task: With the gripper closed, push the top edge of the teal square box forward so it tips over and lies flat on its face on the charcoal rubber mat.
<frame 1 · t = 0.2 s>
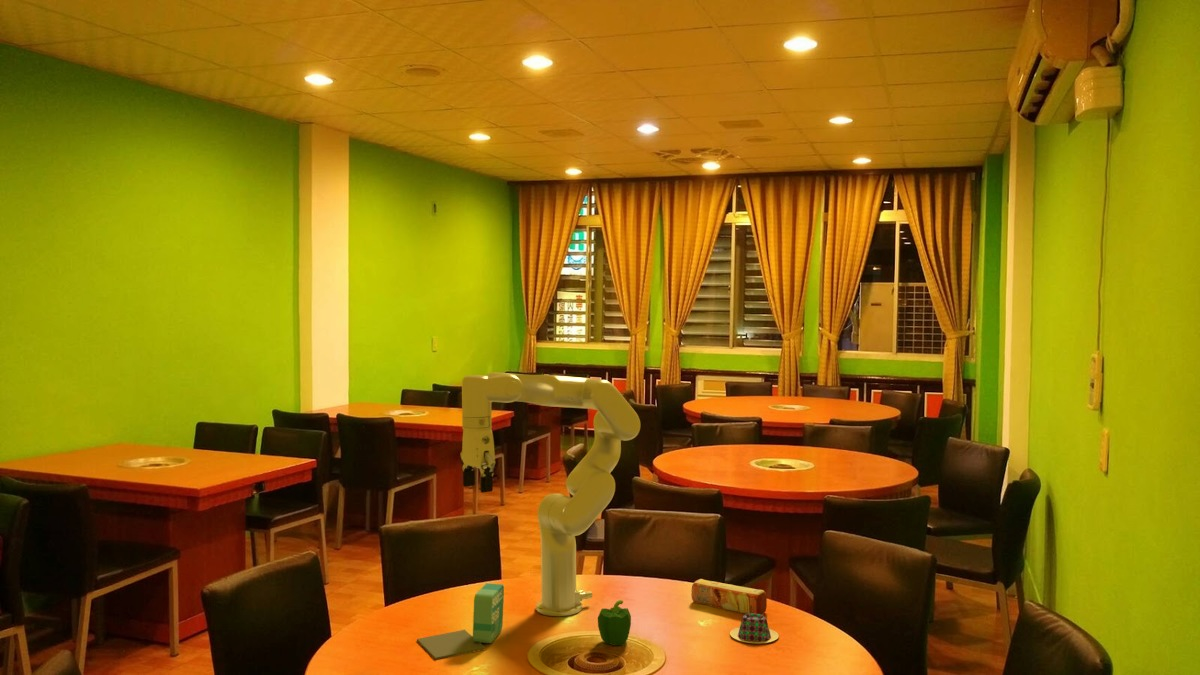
hand: (477, 488, 232), 36 cm above the table, tool pointing down, fingers open, 9 cm apart
teal square box: (487, 637, 224), on the table, touching mat
bell pepper: (615, 643, 220), on the table
pudding: (754, 638, 223), on the table
snack package: (728, 609, 245), on the table
mat: (450, 645, 219), on the table
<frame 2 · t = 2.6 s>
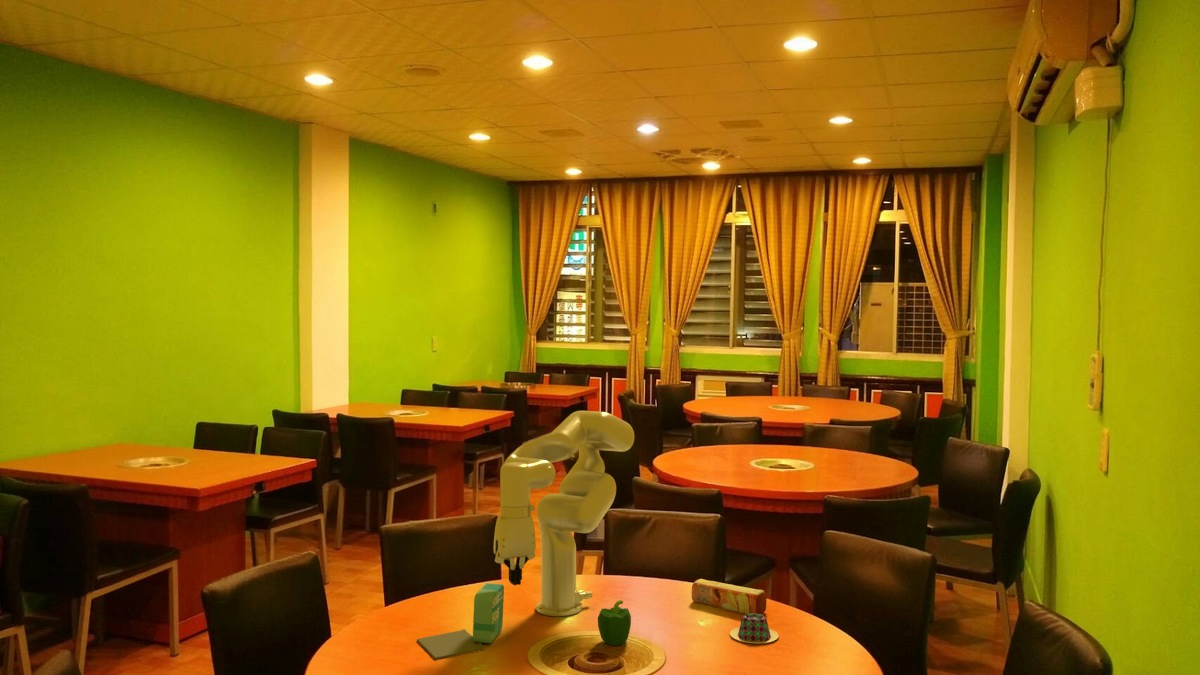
hand: (515, 583, 227), 13 cm above the table, tool pointing down, fingers closed
nothing on the table moved.
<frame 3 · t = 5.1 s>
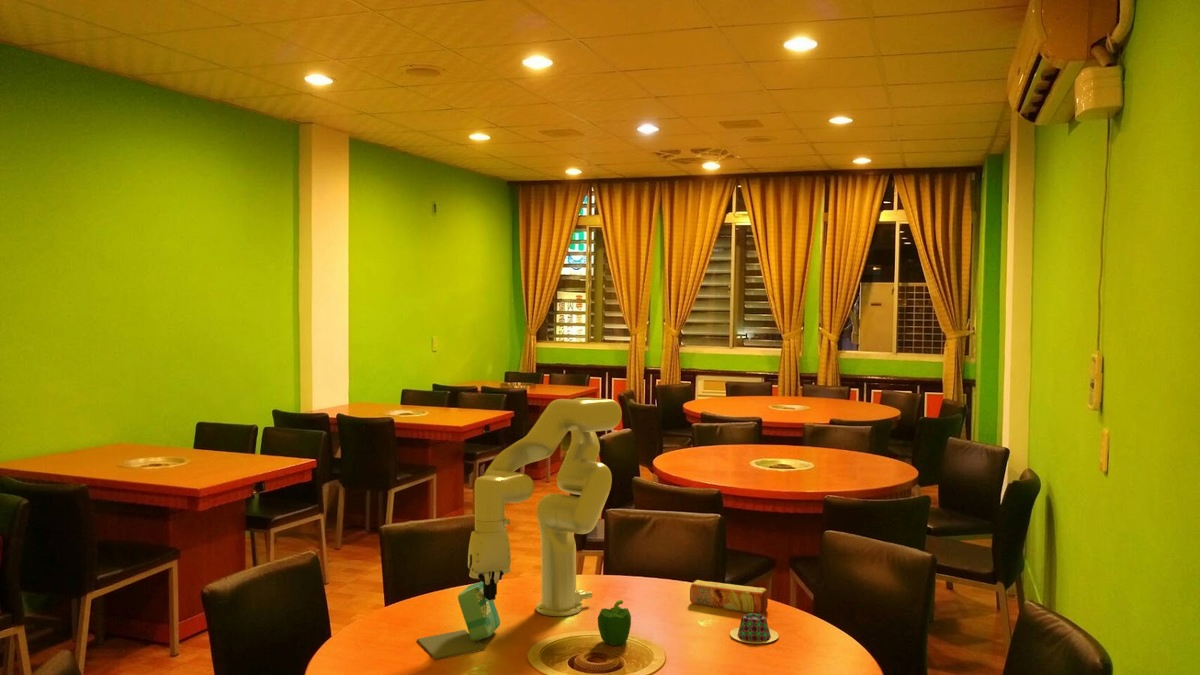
hand: (490, 598, 224), 10 cm above the table, tool pointing down, fingers closed
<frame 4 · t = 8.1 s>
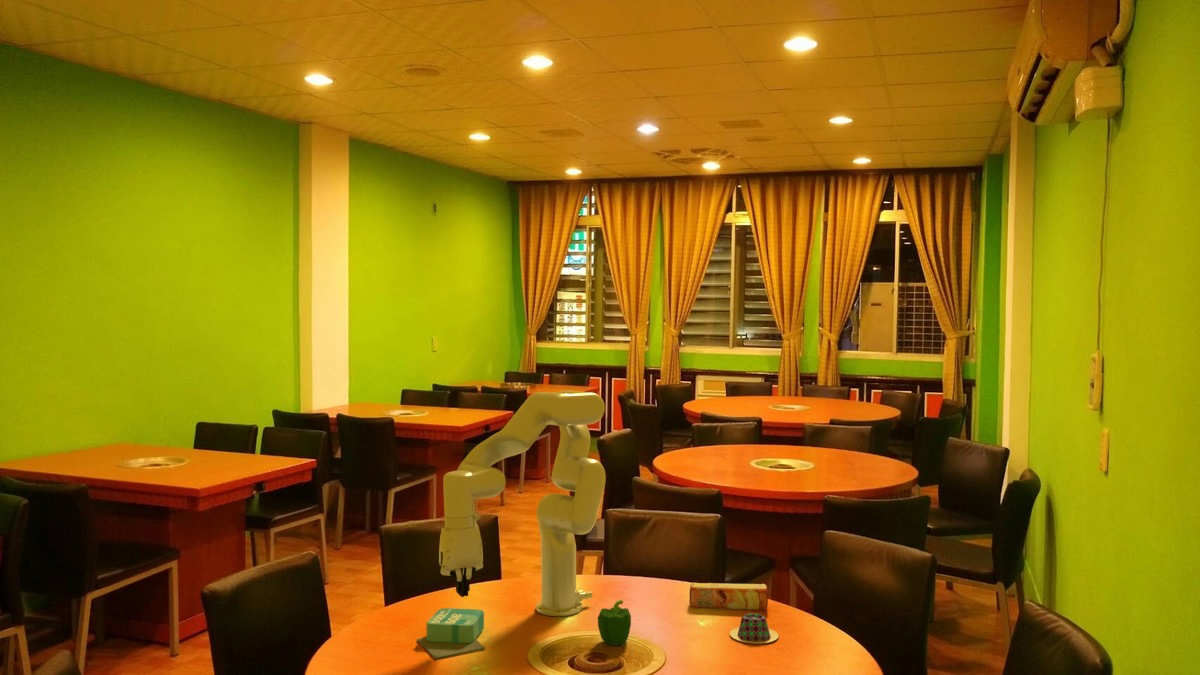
hand: (463, 594, 221), 12 cm above the table, tool pointing down, fingers closed
teal square box: (479, 626, 224), point 3 cm above the table, touching mat
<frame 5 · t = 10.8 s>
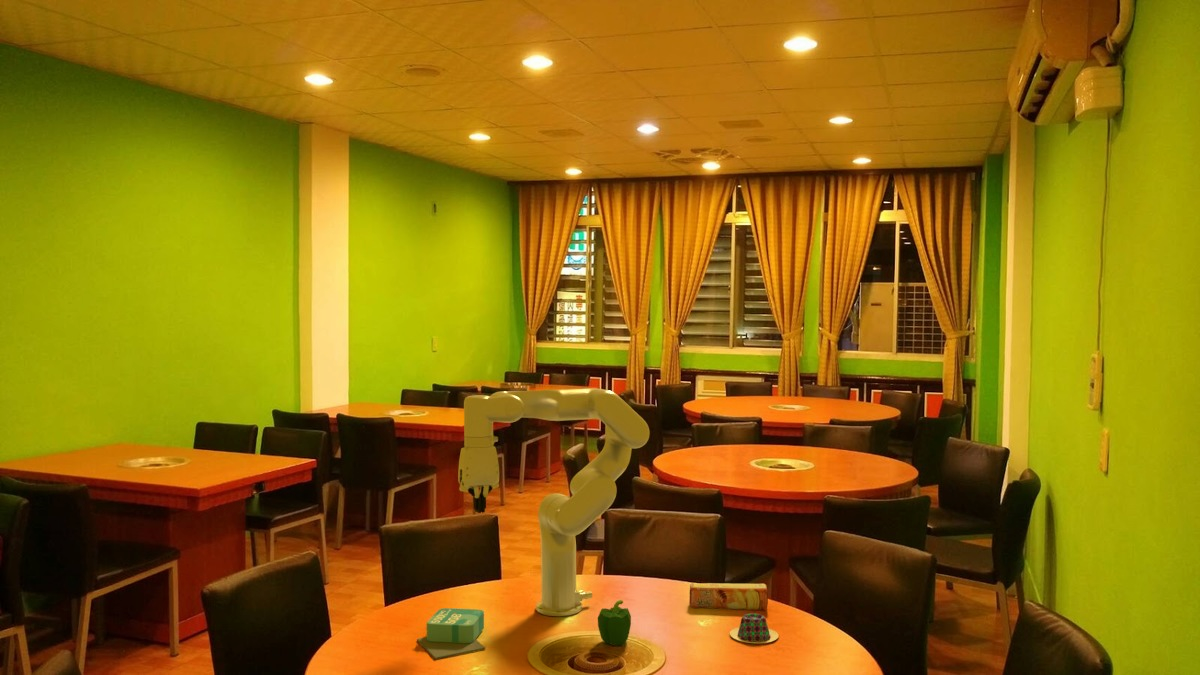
hand: (479, 511, 235), 29 cm above the table, tool pointing down, fingers closed
at the end: teal square box tilted 90°; teal square box inside the target area on the mat (4.8 cm from its centre), point 2.8 cm above the mat's base; teal square box touching mat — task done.
